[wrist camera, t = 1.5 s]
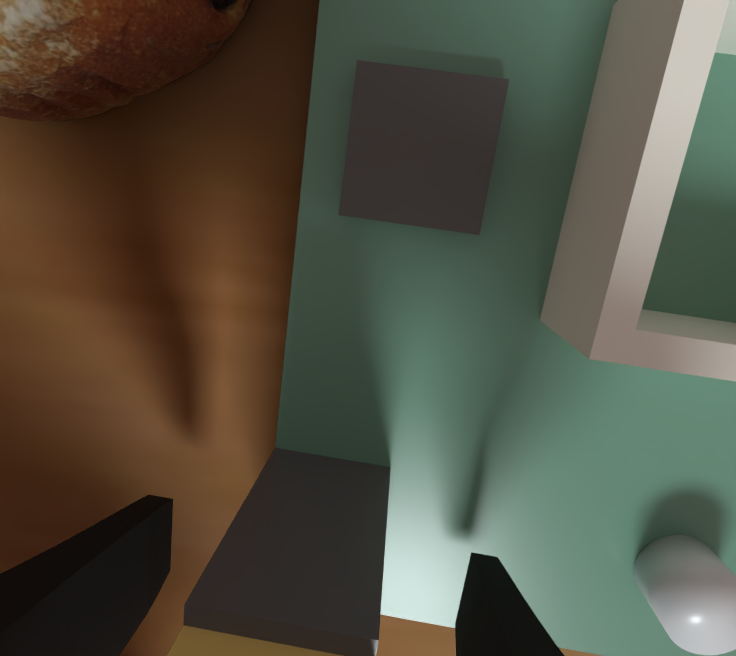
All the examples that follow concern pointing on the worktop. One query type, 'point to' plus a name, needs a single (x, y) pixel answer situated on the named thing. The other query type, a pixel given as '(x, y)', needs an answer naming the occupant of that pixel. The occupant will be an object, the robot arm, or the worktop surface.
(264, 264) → the worktop surface
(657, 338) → the white rectangular frame
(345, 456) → the board
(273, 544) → the plug
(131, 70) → the bread roll
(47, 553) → the robot arm
